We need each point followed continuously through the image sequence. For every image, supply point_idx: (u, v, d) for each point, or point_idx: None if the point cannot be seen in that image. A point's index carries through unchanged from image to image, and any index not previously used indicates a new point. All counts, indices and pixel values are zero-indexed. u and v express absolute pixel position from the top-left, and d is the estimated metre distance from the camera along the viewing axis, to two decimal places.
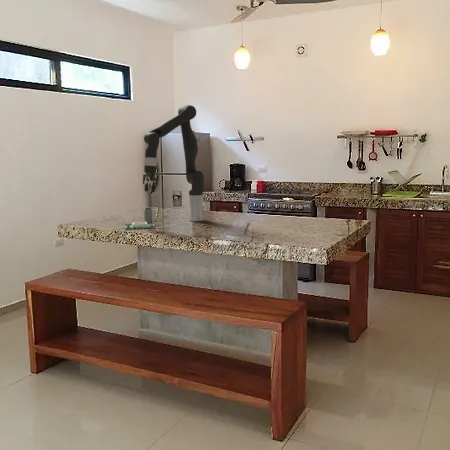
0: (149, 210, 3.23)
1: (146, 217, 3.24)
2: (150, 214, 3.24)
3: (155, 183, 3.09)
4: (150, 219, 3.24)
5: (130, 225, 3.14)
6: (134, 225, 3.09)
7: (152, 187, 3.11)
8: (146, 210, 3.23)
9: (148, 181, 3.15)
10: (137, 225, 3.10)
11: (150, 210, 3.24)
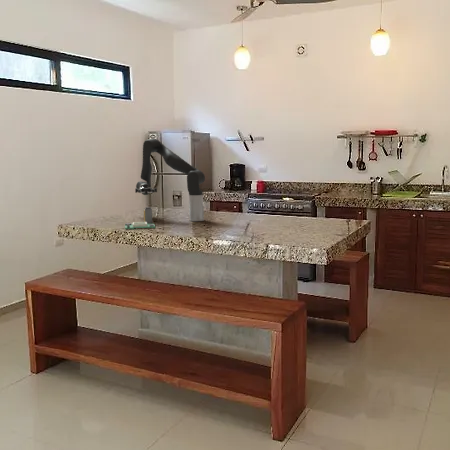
0: (149, 210, 3.23)
1: (146, 217, 3.24)
2: (150, 214, 3.24)
3: (135, 190, 3.37)
4: (150, 219, 3.24)
5: (130, 225, 3.14)
6: (134, 225, 3.09)
7: (139, 192, 3.36)
8: (146, 210, 3.23)
9: (146, 191, 3.40)
10: (137, 225, 3.10)
11: (150, 210, 3.24)
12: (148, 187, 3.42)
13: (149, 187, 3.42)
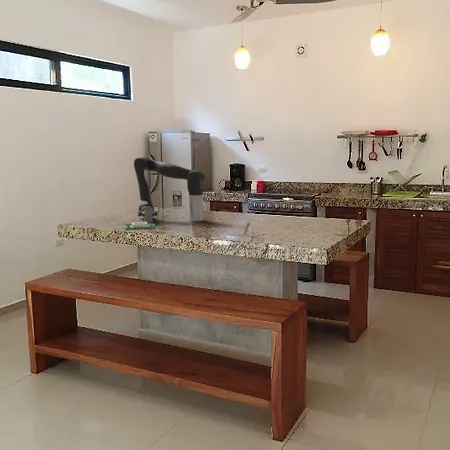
0: (149, 210, 3.23)
1: (146, 217, 3.24)
2: (150, 214, 3.24)
3: (139, 214, 3.27)
4: (150, 219, 3.24)
5: (130, 225, 3.14)
6: (134, 225, 3.09)
7: (143, 216, 3.25)
8: (146, 210, 3.23)
9: None
10: (137, 225, 3.10)
11: (150, 210, 3.24)
12: None
13: None
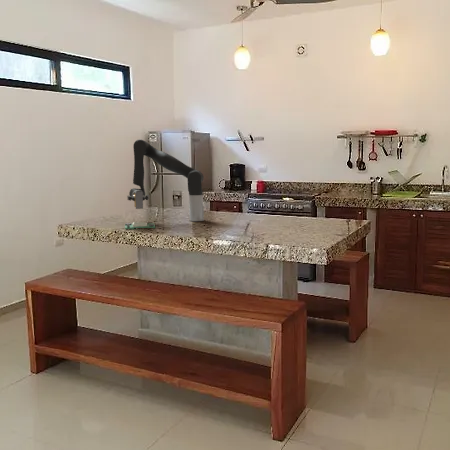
0: (140, 193, 3.09)
1: (136, 201, 3.09)
2: (141, 198, 3.09)
3: (129, 198, 3.13)
4: (141, 203, 3.10)
5: (130, 225, 3.14)
6: (134, 225, 3.09)
7: (133, 199, 3.11)
8: (137, 193, 3.09)
9: None
10: (137, 225, 3.10)
11: (141, 193, 3.09)
12: None
13: None
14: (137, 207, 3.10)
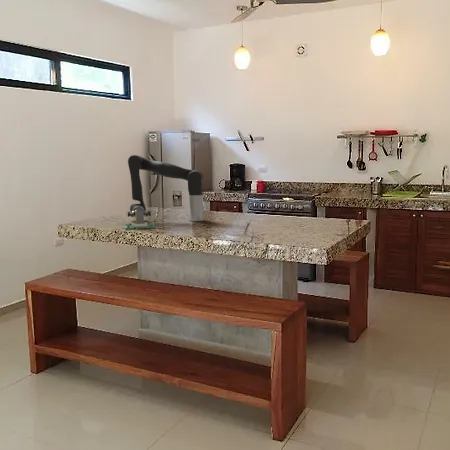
0: (141, 211, 3.11)
1: (137, 218, 3.11)
2: (142, 215, 3.11)
3: None
4: (142, 220, 3.11)
5: (130, 225, 3.14)
6: (134, 225, 3.09)
7: None
8: (137, 211, 3.10)
9: None
10: (137, 225, 3.10)
11: (142, 211, 3.11)
12: None
13: None
14: None
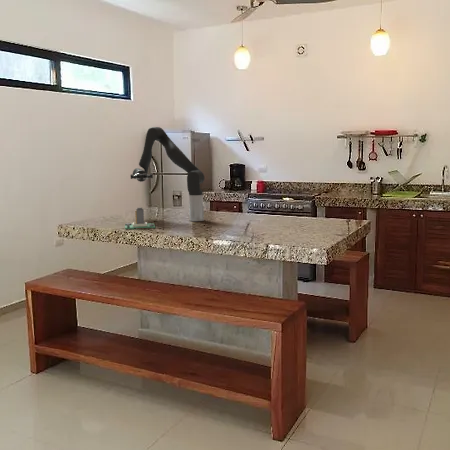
0: (141, 211, 3.11)
1: (137, 218, 3.11)
2: (142, 215, 3.11)
3: None
4: (142, 220, 3.11)
5: (130, 225, 3.14)
6: (134, 225, 3.09)
7: (134, 178, 3.27)
8: (137, 211, 3.10)
9: (142, 177, 3.32)
10: (137, 225, 3.10)
11: (142, 211, 3.11)
12: (144, 173, 3.33)
13: (145, 173, 3.33)
14: None
